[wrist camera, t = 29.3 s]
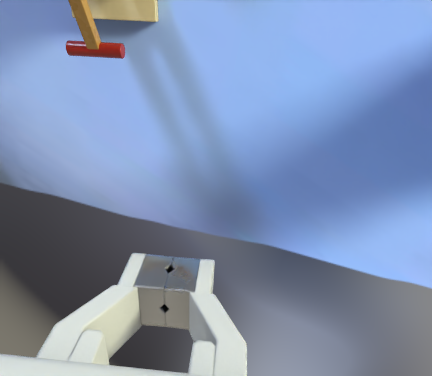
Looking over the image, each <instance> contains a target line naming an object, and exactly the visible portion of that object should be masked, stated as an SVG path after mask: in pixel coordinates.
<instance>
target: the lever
mask: <svg viewBox="0 0 432 376" xmlns="http://www.w3.org/2000/svg"><path fill="white" fill-rule="evenodd" d="M68 1H69V3H70V6H71V8H72V11H73V13H74V16H75V18H76V21H77V23H78V26H79V29H80V31H81V34H82V36H83V39H84V41H67V43H66V50H67V53H68V55H70V56H87V57H105V58H122V59H123V58H124V56H125V47H124V45H123V44H122V43H105V42H101V40H100V37H99V34H98V31H97V28H96V25H95V23H94V20H93V17H92V14H91V11H90V8H89V5H88V2H87V0H68Z"/></svg>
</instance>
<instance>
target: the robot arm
mask: <svg viewBox="0 0 432 376" xmlns="http://www.w3.org/2000/svg"><path fill="white" fill-rule="evenodd" d="M214 264H215V263H214V260H208V259H192V258H181V257H169V256H160V255H152V254H140V253H133V254H132V255H131V257H130V258H129V261H128V263H127V265H126V267H125V269H124V272H123V274H122V276H121V278H120V281H119V283H118V285H113V286H111V287H110V288H108V289H107V290H105V291H104V292H102V293H101V294H100V295H98V296H96V297H95V298H94V299H92V300H91V301H89V302H88V303H86V304H85V305H83V306H82V307H80V308H79V309H77V310H76V311H74V312H73V313H71V314H70V315H68V316H67V317H66V318H64V319H63V320H61V321H60V322H58V323H57V324H55V326H54V328H53V329H52V331H51V332H50V334H49V336H48V337H47V339H46V341H45V342H44V345H43V346H42V348H41V349H40V351H39V353H38V354H37V356H36V358H35V357H25V356H15V355H6V354H0V376H247V344H246V342H245V341H244V339H243V338H242V336H241V334H240V333H239V331H238V330H237V328H236V327H235V325H234V324H233V322H232V321H231V319H230V317H229V316H228V314H227V313H226V311H225V310H224V308H223V307H222V305H221V304H220V302H219V300H218V299H217V297H216V296H215V294H213V280H214ZM141 325H149V326H163V327H172V328H181V329H188V330H189V331H190V334H191V336H192V338H193V341H194V343H193V348H192V354H191V360H190V365H189V372H188V373H178V372H168V371H159V370H149V369H140V368H130V367H121V366H111V365H109V359H110V358H111V357H112V356H113V354H115V353H116V352H117V351H118V350H119V349H120V347H121V346H122V345H123V344H124V343H125V342H126V341H127V340H128V339H129V338H130V337H131V336H132V335H133V334H134V333H135V332H136V331H137V330H138V329H139V328H140V327H141Z"/></svg>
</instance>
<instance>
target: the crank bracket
mask: <svg viewBox="0 0 432 376" xmlns="http://www.w3.org/2000/svg"><path fill="white" fill-rule="evenodd" d="M87 2H88V5H89V8H90V11H91V14H92V17H93V19H109V20H128V21H148V22H157V21H158V2H157V0H87ZM71 10H72V8H71ZM72 16H73V18H75V16H74V13H73V11H72Z"/></svg>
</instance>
